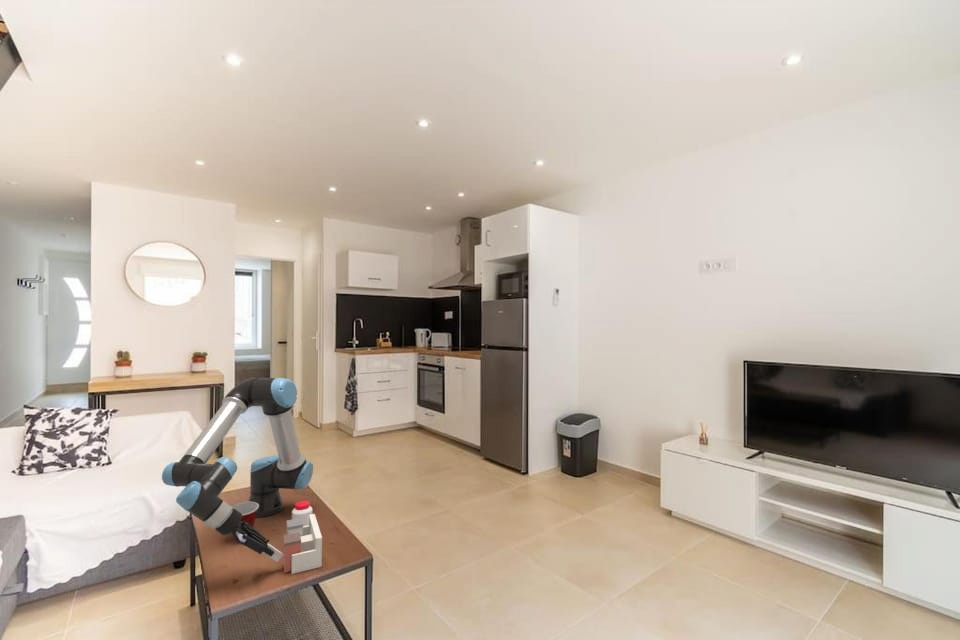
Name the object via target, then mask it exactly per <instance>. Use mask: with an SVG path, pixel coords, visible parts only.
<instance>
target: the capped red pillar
mask: <svg viewBox="0 0 960 640" xmlns="http://www.w3.org/2000/svg"><path fill="white" fill-rule="evenodd" d="M282 553H283V556H282V558H283V559H282V560H283V561H282V564H283V572H284V573H289V572H292V554H296V553H301V537H300V532H298V533H293V534H288V535H287V534H284V535H283V552H282Z"/></svg>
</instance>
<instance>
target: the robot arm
mask: <svg viewBox="0 0 960 640" xmlns="http://www.w3.org/2000/svg"><path fill="white" fill-rule="evenodd" d="M297 395H298V390H297V387H296V384H295V382H293V381H292V380H291V379H290V378H283V377H276V378H275V377H250V378H248V379H245V380H244V381H242V382H240V383H239V384H237V385H236V386H235V387H233V388H232V389H231V390H230V391H229V392H228V393H226V395H225V396H224V397H223V399H222V401H221V404H222V405H221V406H220V407H219V409H218V410H217V411H216V413H215V414H214V415H213V416H212V418H211V419H210V421H209V422H208V423H207V424H206V426H205V427H204V428H203V430H202V431H201V432H200V433H199V435H198V436H197V438H196V439H195V440H194V441H193V443H192V444H191V446H190V447H189V448H188V449H187V451H185V453H184V455H183V456H182V457H181V458H180V460H179V461H174V462H171V463H169V464H167V465H166V466H165V468H163V471H162V473H161V480H162V483H163V484H164V485H167V486H172V487H177V488H178V487H184V488H183V489H182V490H181V491H180V493H179V494H177V496H176V500H175V502H176V503H177V504H178V505H179V506H180V508H182V509H183V510H184V511H187V512H188V513H190V514H191V515H193V516H194V517H196V519H199V520H200V521H201V522H203V523H204V526H208V527H210V528H211V529H215V531H216V532H218V533H219V534H220V535H222V536H223V537H224V536H225V537H226V536H228V535H229V534H231V535H233V538H234V537H235V538H236V539H239V540H238V541H236V542H237V543H238V544H239V545H242V546H244V547H247V548H249V549H250V550H252V551H254V552H256V553H258V555H261V554H264V555H266V556H267V557H268V558H270V559H271V560H273V561H274V562H276V563H278V562H279V561H280V560H281V559H282V558H283V552H282V551H280V550H279V549H277V548H276V547H275V546H273V545H272V544H270V539H268V538H266V537H265V536H264V535H262V534H261V533H260V532H259V531H258V530H257V529H255V527H252V526H251V525H249V523H248V522H247V521H246V520H244V521H243V522H242V521H240V520H241V518H242V514H241V513H240V512H238V511H237V510H236V509H232V506H233V505H230V504H228V503H227V502H226V501H225V500H224V499H222V498H221V497H219V496H220V495H221V493H222V492H223V490H224V489H225V488H226V487H227V485H228V484H229V483H230V481H231V480H232V479H233V477H234V475H235V474H236V472H237V470H238V465H237V462H236V461H235V460H234V459H232V458H230V457H228V456H221V457H220V458H217V459H216V461H214V463H207V462H208V461H209V459H210V458H211V457H212V456H213V454H214V452H215V451H216V449H217V448H218V447H219V445H220V444H221V442H222V441H223V440H224V439H225V437H226V436H227V434H228V433H229V431H230V429H232V427H233V425H234V424H235V423H236V421H237V419H239V417H240V416H241V415H242V414H245V413H246V412H247V410H248V409H249V408H252V407H261V408H262V413H263V415H264V416H267V417H268V419H269V423H270V428H271V430H272V431H271V432H272V436H273V439H274V443H275V444H274V445H275V447H276V451H277V455H270V456H269V455H268V456H264V457H261V458H259V459H256V460H254V461H252V463H251V464H250V471H249V472H250V477H249V478H250V480H249V481H250V485H249V486H250V491H249V498H248V501H247V502H249V501H250V502H256V503H258V504H259V507H258V509H257V512H256V516H255V518H264V517H269V516H273V515H276V514H277V513H279V512H281V511H282V510H283V509H284V500H283V497H282V495H281V492H280V489H284V490H285V489H287V490H303V489H306V488H307V486H309V484H310V482H311V479H312V476H313V473H314V464H313V462H311V461H307V459H306V455H305V454H303V453H302V452H301V451H300V450H301V449H300V445H299V442H298V437H297V432H296V428H295V424H294V423H295V422H294V419H293V415H292V409H293V408H294V405H295V404H296V401H297V399H298V398H297ZM235 538H234V539H235Z"/></svg>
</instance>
